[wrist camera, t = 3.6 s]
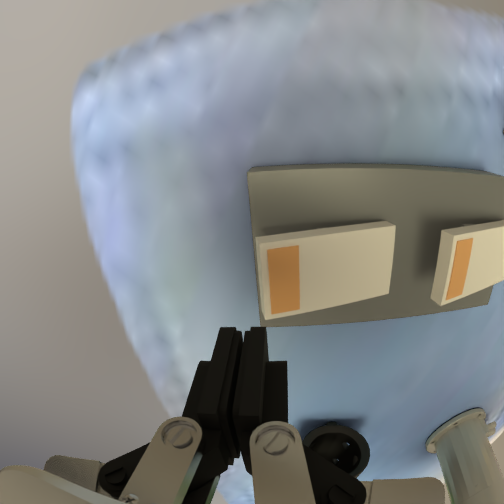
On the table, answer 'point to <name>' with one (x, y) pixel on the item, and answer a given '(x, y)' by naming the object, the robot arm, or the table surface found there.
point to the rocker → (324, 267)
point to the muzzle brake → (340, 447)
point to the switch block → (375, 210)
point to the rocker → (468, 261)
